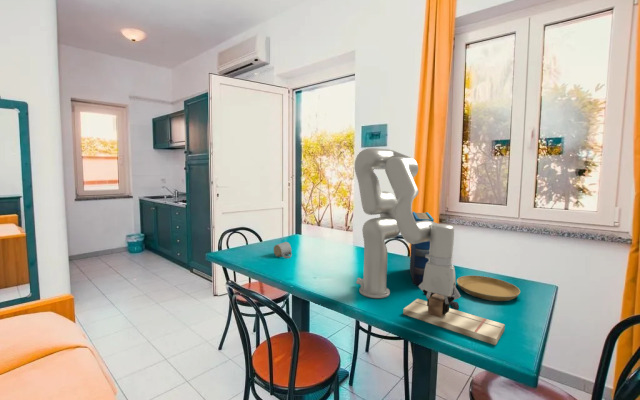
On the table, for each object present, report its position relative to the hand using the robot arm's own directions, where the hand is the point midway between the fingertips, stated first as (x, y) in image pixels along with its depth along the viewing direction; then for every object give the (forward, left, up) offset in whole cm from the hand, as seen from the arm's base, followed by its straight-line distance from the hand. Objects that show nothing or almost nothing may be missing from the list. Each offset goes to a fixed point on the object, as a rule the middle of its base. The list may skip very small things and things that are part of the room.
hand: (437, 310), depth 112 cm
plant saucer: (+6, +39, -3) cm, 40 cm away
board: (+4, +1, -3) cm, 5 cm away
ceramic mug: (-96, +16, -3) cm, 97 cm away
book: (-22, +36, -3) cm, 42 cm away
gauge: (0, +2, -1) cm, 2 cm away
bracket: (-3, +18, -4) cm, 18 cm away
